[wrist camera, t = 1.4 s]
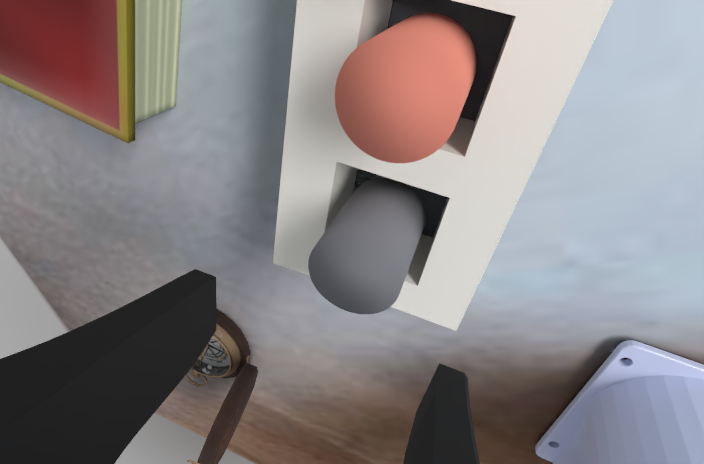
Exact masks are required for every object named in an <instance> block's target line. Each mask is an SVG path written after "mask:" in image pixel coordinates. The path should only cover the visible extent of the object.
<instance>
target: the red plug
mask: <svg viewBox="0 0 704 464" xmlns="http://www.w3.org/2000/svg"><path fill="white" fill-rule="evenodd" d="M476 67H477V58H476V51H475V48H474V44H473V42H472V40H471V38H470V36H469V34H468V33H467V32H466V30H465V29H464V28H463V27H462V26H461V25H460V24H459V23H458V22H456V21H455V20H454V19H452V18H450V17H448V16H445V15H442V14H438V13H420V14H416V15H413V16H410V17H408V18H406V19H404V20H403V21H401V22H399V23H397V24H395V25H394V26H392V27H390V28H388V29H387V30H385V31H383V32H381V33H380V34H378V35H376V36H374V37H373V38H371V39H369V40H367V41H366V42H364V43H362V44H361V45H360V46H358V47H357V48H356V49H355V50H354V51H353V52H352V53H351V54H350V55H349V56H348V58H347V59H346V60H345V62H344V64H343V65H342V67H341V69H340V72H339V75H338V77H337V82H336V86H335V106H336V111H337V115H338V118H339V121H340V123H341V126H342V128H343V129H344V131H345V133H346V134H347V136H348V137H349V138H350V140H351V141H352V142H353V143H354V144H355V145H356V146H357V147H358V148H359V149H361V150H362V151H363V152H365V153H366V154H368V155H370V156H372V157H373V158H376V159H378V160H381V161H385V162H389V163H410V162H415V161H419V160H421V159H424V158H426V157H428V156H430V155H431V154H433V153H434V152H436V151H437V150H438V149H440V148H441V147H442V146H443V145H444V144H445V143H446V141H447V140H448V139H449V137H450V136H451V134H452V132H453V131H454V129H455V126H456V124H457V121H458V119H459V116H460V114H461V111H462V109H463V106H464V104H465V101H466V99H467V96H468V94H469V91H470V89H471V86H472V84H473V81H474V78H475V74H476Z"/></svg>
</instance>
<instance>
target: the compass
mask: <svg viewBox="0 0 704 464" xmlns="http://www.w3.org/2000/svg"><path fill="white" fill-rule="evenodd" d="M249 359H250V350H249V346H248V342H247V340H246V338H245V337H244V335H243V333H242V331H241V330H240V329H239V328H238V327H237V326H236V324H235V323H234V322H233V321H232V320H230V319H229V318H228V317H227V316H225V315H224V314H223V313H221V312H219V311H217V310H216V331H215V333H214V335H213V336H212V338H211V339H210V341H209V343H208V344H207V346H206V347H205V349H204V350H203V352H202V353H201V355H200V356H199V358H198V359H197V361H196V362H195V364H194V365H193V366H192V368H191V369H190V370H193V376H194V377H199V376H200V374H201V375H202V377H203V378H204V379H205V384H203V385H200V384H197V383H195V382H193V381H192V380H191V379H190V378H189V377H188V376H187V374H186V375H185V377H186V378H187V380H188V381H189V382H191V383H192V384H194V385H196V386H199V387H204V386H206V385H207V378H206V376H208V377H221V378H230V377H235V376H237V375H238V376H237V377H236V379H235V381H234V383H233V385H232V387H231V389H230V391H229V393H228V395H227V397H226V399H225V401H224V403H223V405H222V407H221V409H220V411H219V413H218V415H217V417H216V419H215V422H214V424H213V426H212V428H211V430H210V433H209V435H208V437H207V439H206V442H205V444H204V446H203V449H202V451H201V454H200V456H199V459H198V462H195V461H191V460H188V461H187V462H191V463H193V464H218V462H219V461H220V459H221V458H222V456H223V454H224V452H225V450H226V448H227V446H228V444H229V442H230V440H231V438H232V436H233V433H234V431H235V429H236V427H237V425H238V423H239V420H240V418H241V416H242V414H243V411H244V409H245V407H246V405H247V402H248V400H249V398H250V395H251V393H252V390H253V388H254V385H255V381H256V377H257V373H258V370H257V367H256V366H253V365H251V364H250V363H249Z"/></svg>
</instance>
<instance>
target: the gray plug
mask: <svg viewBox="0 0 704 464" xmlns="http://www.w3.org/2000/svg"><path fill="white" fill-rule="evenodd" d="M425 220H426V213H425V208H424V205H423V203H422V201H421V199H420V198H419V196H418V195H417V194H416V193H415V191H414V190H412V189H411V188H410V187H409V186H407V185H406V184H404V183H402V182H399V181H396V180H393V179H389V178H374V179H370V180H367V181H365V182H363V183H362V184H360V185H359V186H358V187H357V188H356V189H355V191H354V192H353V193H352V195H351V196H350V198H349V199H348V200H347V202H346V203H345V205H344V206H343V207H342V209H341V210H340V212H339V213H338V214H337V216H336V217H335V219H334V220H333V221H332V223H331V224H330V226H329V227H328V228H327V230H326V231H325V233H324V234H323V235H322V237H321V238H320V240H319V241H318V243H317V244H316V245H315V247H314V248H313V250H312V251H311V254H310V256H309V261H308V269H309V274H310V277H311V280H312V282H313V284H314V285H315V287H316V288H317V290H318V291H319V292H320V293H321V295H322V296H324V297H325V298H326V299H327V300H328V301H329V302H331V303H332V304H334V305H335V306H337V307H339V308H341V309H344V310H346V311H349V312H353V313H358V314H374V313H378V312H381V311H384V310H386V309H388V308H389V307H390V306H392V305H393V304H394V303H395V301H396V300H397V298H398V296H399V294H400V291H401V289H402V286H403V283H404V280H405V278H406V275H407V272H408V270H409V267H410V264H411V261H412V259H413V256H414V253H415V250H416V248H417V245H418V242H419V239H420V237H421V234H422V231H423V228H424V225H425Z"/></svg>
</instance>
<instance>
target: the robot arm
mask: <svg viewBox="0 0 704 464" xmlns="http://www.w3.org/2000/svg"><path fill="white" fill-rule="evenodd" d="M215 331H216V277H214V276H212V275H209V274H207V273H204V272H201V271H199V270H196V269H195V270H193V271H191V272H189V273H187V274H185V275H183V276H181V277H179V278H177V279H175V280H173V281H171V282H169V283H167V284H166V285H164V286H162V287H160V288H158V289H156V290H154V291H152V292H150V293H148V294H146V295H145V296H143V297H141V298H139V299H137V300H135V301H133V302H131V303H129V304H127V305H125V306H123V307H121V308H119V309H117V310H115V311H113V312H111V313H109V314H107V315H105V316H103V317H101V318H98V319H96V320H94V321H92V322H90V323H87V324H85V325H83V326H81V327H79V328H76V329H74V330H72V331H70V332H68V333H66V334H63V335H61V336H58V337H56V338H54V339H51V340H49V341H47V342H44V343H41V344H39V345H36V346H34V347H31V348H29V349H26V350H23V351H21V352H18V353H16V354H13V355H10V356H7V357H5V358H2V359H0V464H114V463H115V462H116V460H117V459H118V458H119V456H120V455H121V453H122V452H123V450H124V449H125V448H126V446H127V445H128V444H129V443H130V442H131V440H132V439H133V437H134V436H135V435H136V434H137V433H138V431H139V430H140V429H141V428H142V427H143V425H144V424H145V423H146V422H147V421H148V419H149V418H150V417H151V416H152V414H153V413H154V412H155V411H156V410H157V409H158V408H159V406H160V405H161V404H162V403H163V402H164V400H165V399H166V398H167V397H168V396H169V394H170V393H171V392H172V391H173V390H174V388H175V387H176V386H177V385H178V383H179V382H180V381H181V380H182V379H183V377H184V376H185V375H186V374H187V373H188V371H189V370H190V369H191V368H192V366H193V365H194V364H195V362H196V361H197V359H198V358H199V356H200V355H201V353H202V352H203V350H204V349H205V347H206V346H207V344H208V343H209V341H210V339H211V338H212V336H213V335H214V333H215ZM621 358H629V359H626V360H623V359H621ZM535 452H536V454H537V455H538V456H539V457H541V458H543V459H545V460H548V461H550V462H553V464H704V365H703V364H700V363H697V362H694V361H692V360H689V359H686V358H683V357H680V356H677V355H674V354H672V353H669V352H666V351H663V350H660V349H657V348H654V347H652V346H649V345H646V344H643V343H640V342H637V341H633V340H628V341H624V342H621V343H620V344H619V345H618V346H617V347H616V348H615V350H614V351H613V352H612V353H611V354H610V356H609V357H608V358H607V359H606V361H605V362H604V363H603V364H602V365H601V367H600V368H599V369H598V370H597V371H596V373H595V374H594V375H593V376H592V377H591V379H590V380H589V381H588V382H587V384H586V385H585V386H584V387H583V388H582V390H581V391H580V392H579V393H578V394H577V396H576V397H575V398H574V399H573V400H572V402H571V403H570V404H569V405H568V407H567V408H566V409H565V410H564V411H563V413H562V414H561V415H560V416H559V417H558V419H557V420H556V421H555V422H554V423H553V425H552V426H551V427H550V428H549V430H548V431H547V432H546V433H545V434H544V436H543V437H542V438H541V439H540V440H539V442H538V443H537V444H536V446H535ZM404 464H480V462H479V458H478V453H477V448H476V442H475V437H474V431H473V424H472V418H471V410H470V403H469V393H468V379H467V376H466V375H465V373H463V372H460V371H458V370H455V369H453V368H450V367H447V366H445V365H442V364H440V363H439V365H438V367H437V370H436V372H435V374H434V376H433V378H432V380H431V382H430V384H429V386H428V389H427V391H426V393H425V395H424V397H423V399H422V401H421V403H420V406H419V408H418V410H417V412H416V416H415V419H414V423H413V427H412V430H411V434H410V438H409V441H408V445H407V449H406V453H405V458H404Z"/></svg>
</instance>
